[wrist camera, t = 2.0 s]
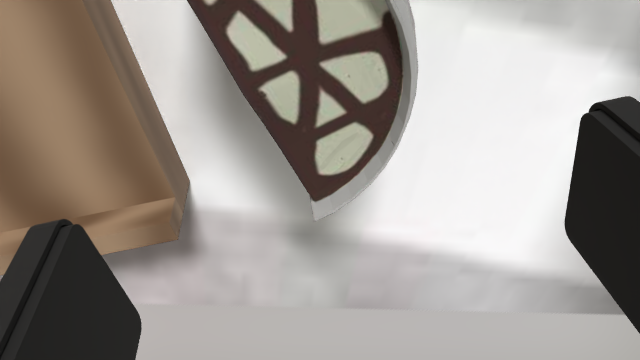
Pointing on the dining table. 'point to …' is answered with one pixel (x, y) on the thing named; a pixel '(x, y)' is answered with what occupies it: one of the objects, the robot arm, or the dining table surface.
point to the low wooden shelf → (81, 131)
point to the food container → (322, 83)
